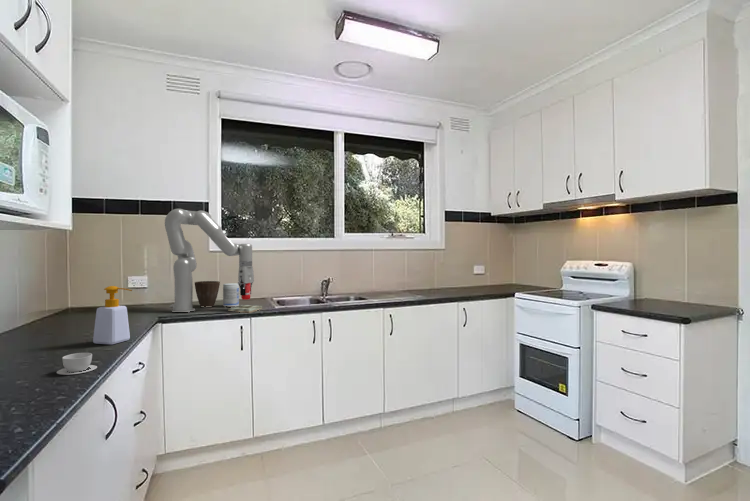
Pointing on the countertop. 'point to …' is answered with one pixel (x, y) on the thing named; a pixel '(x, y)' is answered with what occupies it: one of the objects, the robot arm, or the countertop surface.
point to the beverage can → (247, 296)
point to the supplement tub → (231, 294)
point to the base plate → (245, 308)
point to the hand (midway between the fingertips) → (245, 294)
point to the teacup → (76, 363)
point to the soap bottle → (111, 321)
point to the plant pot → (207, 292)
